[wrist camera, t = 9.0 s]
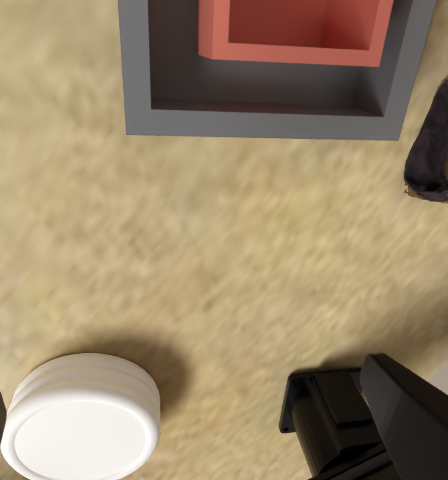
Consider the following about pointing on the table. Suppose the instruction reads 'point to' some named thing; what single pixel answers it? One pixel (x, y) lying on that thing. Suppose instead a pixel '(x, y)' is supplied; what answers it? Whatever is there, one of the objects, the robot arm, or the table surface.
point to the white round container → (82, 419)
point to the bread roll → (430, 153)
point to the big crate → (261, 81)
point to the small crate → (294, 30)
